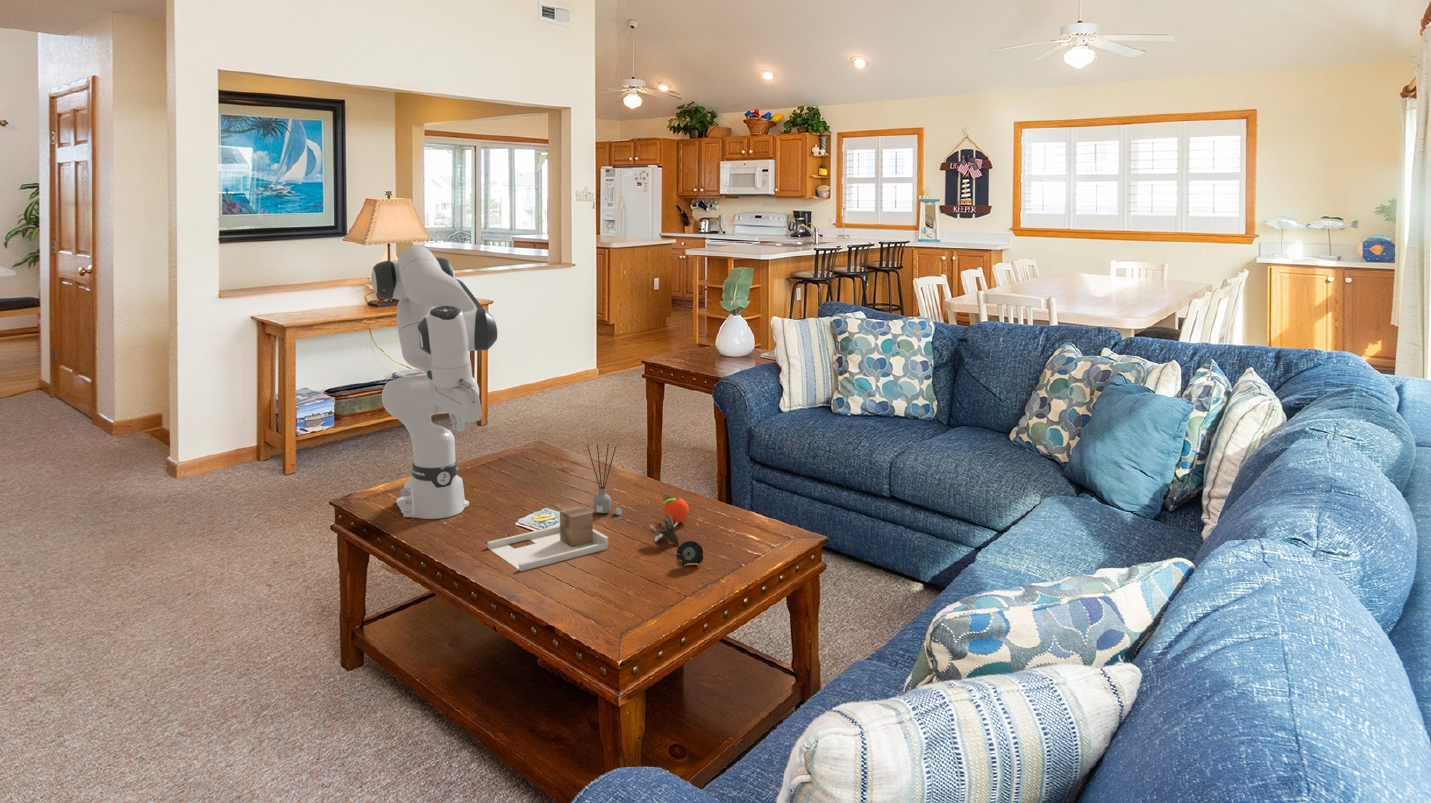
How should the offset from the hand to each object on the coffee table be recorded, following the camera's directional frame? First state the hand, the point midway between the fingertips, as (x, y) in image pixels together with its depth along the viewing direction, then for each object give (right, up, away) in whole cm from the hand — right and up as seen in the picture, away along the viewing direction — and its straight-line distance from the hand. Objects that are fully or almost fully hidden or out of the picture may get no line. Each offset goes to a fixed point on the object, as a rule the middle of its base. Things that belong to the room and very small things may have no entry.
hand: (459, 430), depth 221 cm
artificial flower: (+51, -31, +11) cm, 61 cm away
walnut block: (+27, -29, +12) cm, 41 cm away
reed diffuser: (+31, -25, +38) cm, 55 cm away
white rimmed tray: (+20, -31, +7) cm, 38 cm away
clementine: (+51, -27, +31) cm, 65 cm away
